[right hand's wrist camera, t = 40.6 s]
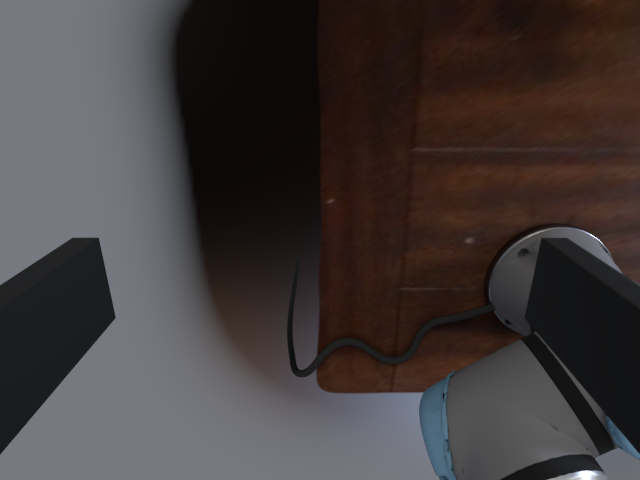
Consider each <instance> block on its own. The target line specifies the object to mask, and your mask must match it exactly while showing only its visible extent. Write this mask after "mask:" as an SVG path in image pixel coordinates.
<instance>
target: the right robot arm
mask: <svg viewBox="0 0 640 480" xmlns="http://www.w3.org/2000/svg"><path fill="white" fill-rule="evenodd" d="M299 265H300V256H299V255H297V256H296V264H295V271H294V277H293V284H292V289H291V296H290V302H289V310H288V321H287V343H288V352H289V359H290V367H291V370H292V372H293V373H294V374H295V375H296V376H298V377H306V376H308V375H310V374H311V373H312V372H314V370H315V369H316V368H317V367H318V366H319V365H320V363H321V362H322V361H323V360H324V358H325V357H326V356H327V355H328V354H329V353H330V352H331V351H332V350H334V349H335V348H337V347H339V346H343V345H354V346H357V347H359V348H361V349H363V350H365V351H366V352H368V353H369V354H370V355H372V356H373V357H375V358H376V359H378V360H380V361H382V362H385V363H388V364H397V363H402V362H404V361H406V360H408V359H409V358H410V357H411V356H412V355H413V354H414V352H415V351H416V349H417V347H418V345H419V343H420V341H421V339H422V337H423V336H424V334H425V333H426V332H427V331H428V330H430V329H431V328H433V327H435V326H437V325H440V324H444V323H449V322H455V321H460V320H464V319H467V318H471V317H475V316H478V315H481V314H485V313H488V312H492V311H494V313H495V314H496V315H497V317H498V318H499V319H500V320H501V321H502V322H503V323H504V324H505V325H506V326H508V327H509V328H511V329H512V330H514V331H516V332H518V333H519V334H521V335H523V336H525V337H524V338H522V339H519V340H517V341H515V342H514V343H512V344H510V345H508V346H506V347H504V348H502V349H500V350H498V351H496V352H494V353H492V354H490V355H488V356H486V357H484V358H482V359H480V360H478V361H476V362H474V363H472V364H470V365H468V366H466V367H464V368H462V369H460V370H458V371H453V372H451V373H450V374H448V376H447V377H446V378H445V379H443V380H441V381H440V382H438V383H436V384H434V385H433V386H431V387H429V388H428V389H427V390H426V391H425V392H424V393H423V396H422V398H421V402H420V406H419V416H420V424H421V430H422V434H423V438H424V442H425V446H426V449H427V452H428V455H429V458H430V461H431V464H432V466H433V469H434V471H435V473H436V475H438V476H439V478H440V480H608V477H607V476H606V474H605V473H604V471H603V470H602V469H601V467H600V466H599V464H598V463H597V461H596V460H595V458H596V457H597V456H600V455H602V454H604V453H607V452H609V451H611V450H613V449H616V448H618V447H619V448H620V449H622V450H624V451H625V452H626V453H628V454H630V455H632V456H633V457H635V458H637V459H639V460H640V285H639V284H637V283H636V282H634V281H633V280H631V279H629V278H628V277H626V276H625V275H623V274H622V272H621V271H620V269H619V268H618V267H617V266H616V265H615V264H614V261H613V258H612V256H611V254H610V253H609V251H608V250H607V248H606V247H605V246H604V245H603V244H602V242H601V241H600V240H598V239H597V238H596V237H594V236H593V235H591V234H590V233H588V232H586V231H584V230H582V229H580V228H578V227H575V226H572V225H567V224H546V225H541V226H537V227H534V228H531V229H529V230H526V231H524V232H522V233H520V234H519V235H517V236H515V237H514V238H513V239H511V240H510V241H509V242H508V243H506V244H505V245H504V246H503V247H502V248H501V249H500V251H499V252H498V253H497V254H496V256H495V257H494V259H493V261H492V262H491V264H490V267H489V269H488V272H487V276H486V282H485V291H486V297H487V300H488V303H489V304H488V305H485V306H481V307H478V308H475V309H471V310H468V311H464V312H461V313H457V314H452V315H446V316H441V317H437V318H434V319H432V320H430V321H428V322H426V323H425V324H424V325H423V326H422V327H421V328H420V329H419V330H418V332H417V333H416V335H415V337H414V339H413V341H412V343H411V345H410V347H409V349H408V350H407V351H406V352H405V353H404V354H402V355H400V356H395V357H389V356H385V355H383V354H381V353H380V352H378V351H377V350H375V349H374V348H372V347H371V346H369V345H368V344H366V343H365V342H363V341H361V340H358V339H355V338H341V339H338V340H335V341H333V342H332V343H330V344H329V345H327V346H326V347H325V348H324V349H323V350H322V351H321V352H320V354H319V355H318V356H317V357H316V359H315V360H314V361H313V362H312V364H311V365H310V366H309V367H308V368H306V369H304V370H299V369H298V367H297V364H296V357H295V351H294V345H293V312H294V302H295V295H296V288H297V281H298V274H299ZM114 319H115V313H114V308H113V304H112V299H111V294H110V289H109V284H108V280H107V275H106V270H105V266H104V261H103V256H102V251H101V247H100V242H99V238H72V239H70V240H69V241H67V242H66V243H64V244H63V245H61V246H60V247H58V248H57V249H55V250H53V251H52V252H50V253H49V254H47V255H46V256H44V257H43V258H41V259H40V260H38V261H37V262H35V263H34V264H32V265H31V266H29V267H28V268H26V269H25V270H23V271H21V272H20V273H18V274H17V275H15V276H14V277H12V278H11V279H9V280H8V281H6V282H5V283H3V284H2V285H0V454H1V453H2V452H3V450H4V449H5V448H6V447H7V446H8V445H9V443H10V442H11V441H12V440H13V439H14V437H15V436H16V435H17V434H18V433H19V431H20V430H21V429H22V428H23V427H24V426H25V424H26V423H27V422H28V421H29V420H30V419H31V417H32V416H33V415H34V414H35V413H36V411H37V410H38V409H39V408H40V407H41V405H42V404H43V403H44V402H45V401H46V400H47V398H48V397H49V396H50V395H51V394H52V392H53V391H54V390H55V389H56V388H57V387H58V385H59V384H60V383H61V382H62V381H63V379H64V378H65V377H66V376H67V375H68V374H69V372H70V371H71V370H72V369H73V368H74V366H75V365H76V364H77V363H78V362H79V361H80V359H81V358H82V357H83V356H84V355H85V353H86V352H87V351H88V350H89V349H90V348H91V346H92V345H93V344H94V343H95V342H96V340H97V339H98V338H99V337H100V336H101V335H102V333H103V332H104V331H105V330H106V329H107V327H108V326H109V325H110V324H111V323H112V321H113V320H114Z"/></svg>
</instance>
